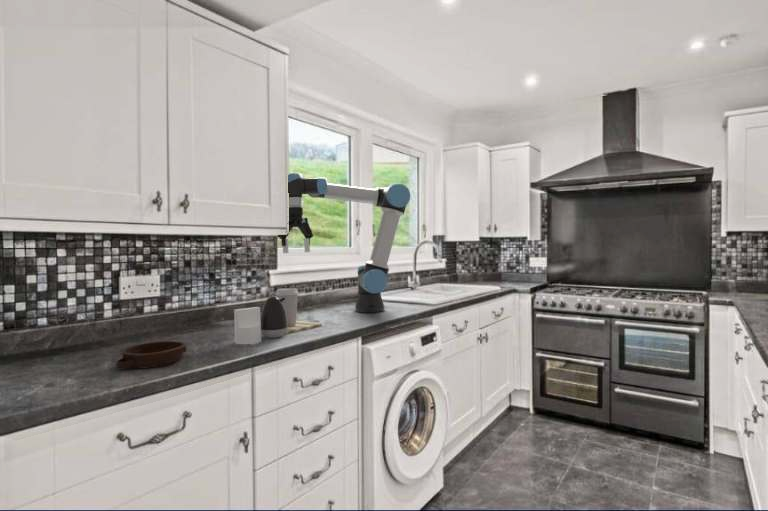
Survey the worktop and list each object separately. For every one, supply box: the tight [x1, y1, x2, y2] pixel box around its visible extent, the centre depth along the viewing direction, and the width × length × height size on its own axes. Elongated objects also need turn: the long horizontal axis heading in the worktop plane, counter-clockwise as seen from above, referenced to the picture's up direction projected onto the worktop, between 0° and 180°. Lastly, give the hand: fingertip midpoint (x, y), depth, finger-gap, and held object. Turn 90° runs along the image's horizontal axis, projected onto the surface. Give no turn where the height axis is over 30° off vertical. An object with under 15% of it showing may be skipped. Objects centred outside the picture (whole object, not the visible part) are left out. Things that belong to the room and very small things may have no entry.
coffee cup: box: [275, 287, 300, 326], centre depth 189 cm, size 10×10×15 cm
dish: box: [115, 340, 188, 369], centre depth 136 cm, size 18×22×5 cm
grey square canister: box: [233, 306, 262, 345], centre depth 162 cm, size 9×9×12 cm
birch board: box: [284, 320, 323, 335], centre depth 189 cm, size 20×20×1 cm
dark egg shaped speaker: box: [260, 296, 287, 339], centre depth 170 cm, size 10×10×15 cm
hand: (296, 252), depth 212 cm, fingers open, 13 cm apart
